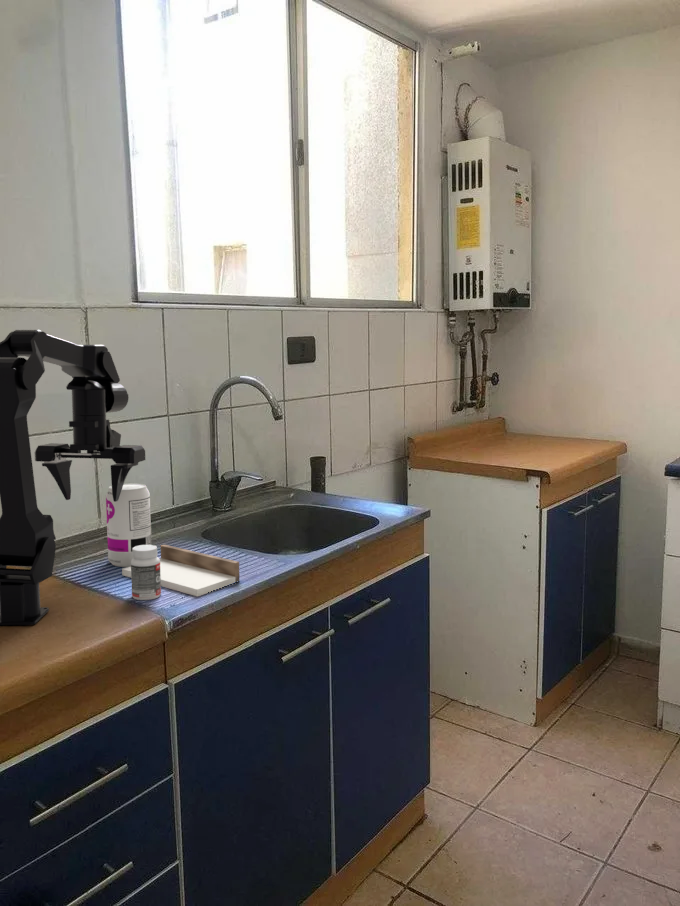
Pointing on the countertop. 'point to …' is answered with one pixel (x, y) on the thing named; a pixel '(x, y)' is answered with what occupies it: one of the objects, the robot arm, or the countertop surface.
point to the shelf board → (193, 571)
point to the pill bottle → (145, 573)
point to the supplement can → (127, 522)
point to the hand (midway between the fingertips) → (91, 500)
